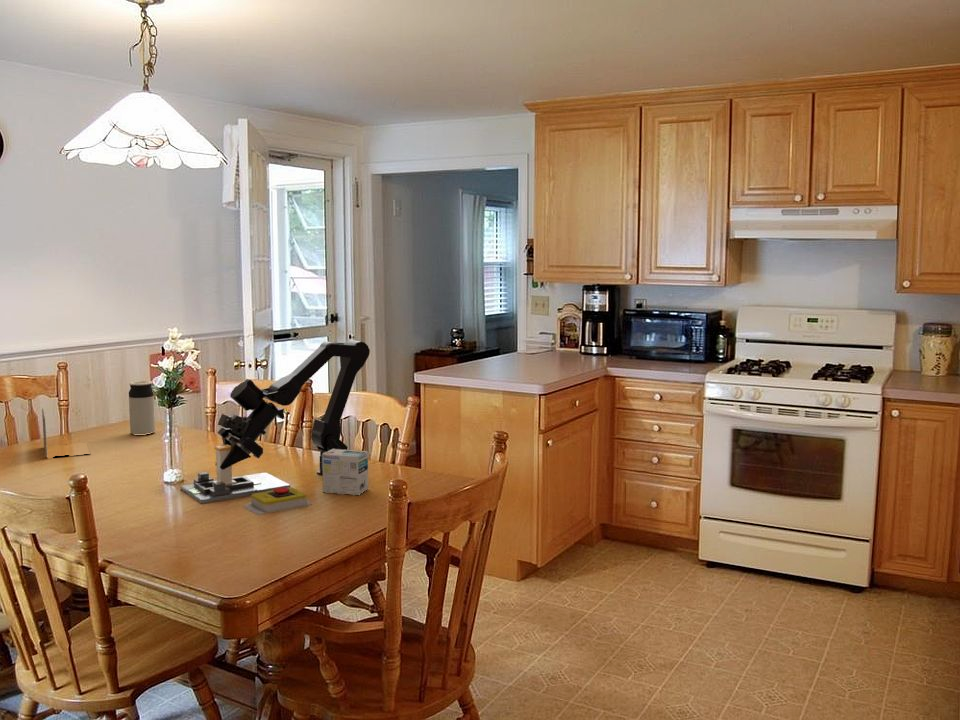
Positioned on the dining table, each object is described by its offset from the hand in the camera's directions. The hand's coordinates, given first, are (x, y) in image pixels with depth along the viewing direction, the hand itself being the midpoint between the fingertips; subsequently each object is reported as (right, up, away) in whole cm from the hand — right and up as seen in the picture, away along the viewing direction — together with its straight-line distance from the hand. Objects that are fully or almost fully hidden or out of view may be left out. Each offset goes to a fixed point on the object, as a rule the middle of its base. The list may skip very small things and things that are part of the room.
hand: (218, 467), depth 223 cm
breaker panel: (+3, -6, +3) cm, 8 cm away
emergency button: (+18, -9, -10) cm, 23 cm away
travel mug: (-48, +3, +71) cm, 85 cm away
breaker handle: (+1, -5, +2) cm, 5 cm away
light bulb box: (+33, -7, +2) cm, 34 cm away
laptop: (-62, -1, +44) cm, 76 cm away
